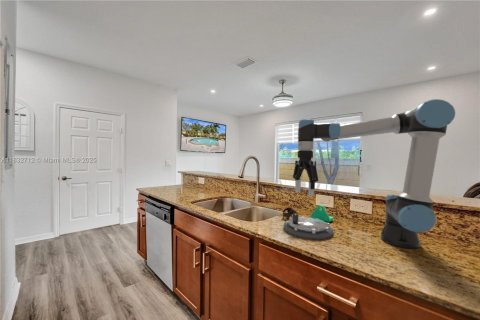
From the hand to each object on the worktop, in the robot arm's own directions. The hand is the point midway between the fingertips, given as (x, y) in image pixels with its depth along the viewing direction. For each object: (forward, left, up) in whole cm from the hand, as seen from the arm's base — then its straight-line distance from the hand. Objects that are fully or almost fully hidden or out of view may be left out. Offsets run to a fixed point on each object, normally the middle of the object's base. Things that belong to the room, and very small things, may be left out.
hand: (304, 193), depth 104 cm
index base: (+7, -8, -22) cm, 24 cm away
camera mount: (+21, -30, -22) cm, 43 cm away
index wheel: (+7, -8, -19) cm, 22 cm away
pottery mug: (+31, -12, -22) cm, 40 cm away
